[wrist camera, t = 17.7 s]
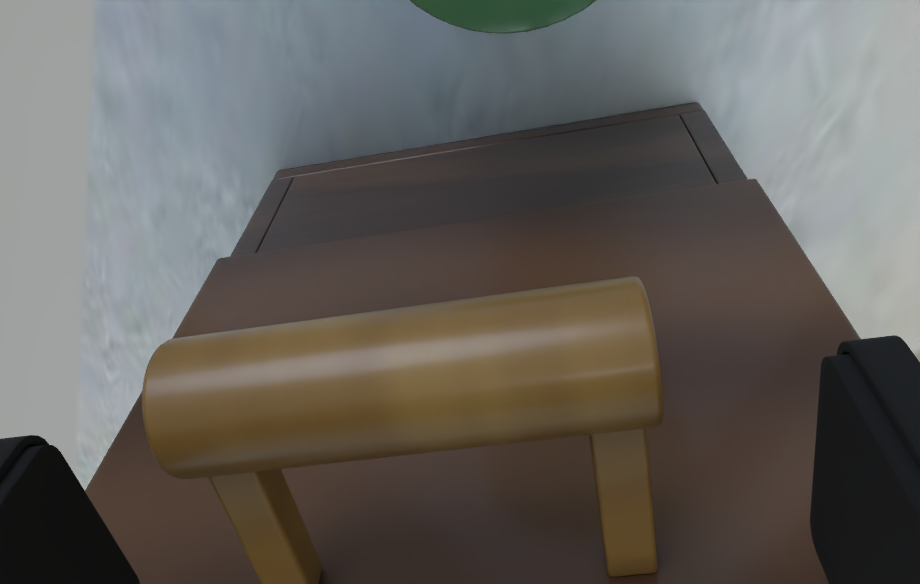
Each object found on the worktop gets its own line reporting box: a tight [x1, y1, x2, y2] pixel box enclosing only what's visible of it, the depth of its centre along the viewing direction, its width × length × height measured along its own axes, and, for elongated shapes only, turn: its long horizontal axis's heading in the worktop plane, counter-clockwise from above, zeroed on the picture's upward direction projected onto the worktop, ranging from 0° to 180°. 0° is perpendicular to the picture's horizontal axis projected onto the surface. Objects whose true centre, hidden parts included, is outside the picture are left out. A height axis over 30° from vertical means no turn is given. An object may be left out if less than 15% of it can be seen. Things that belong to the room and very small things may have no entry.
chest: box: [230, 103, 748, 257], centre depth 28 cm, size 13×15×6 cm
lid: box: [85, 179, 860, 584], centre depth 14 cm, size 13×15×5 cm
